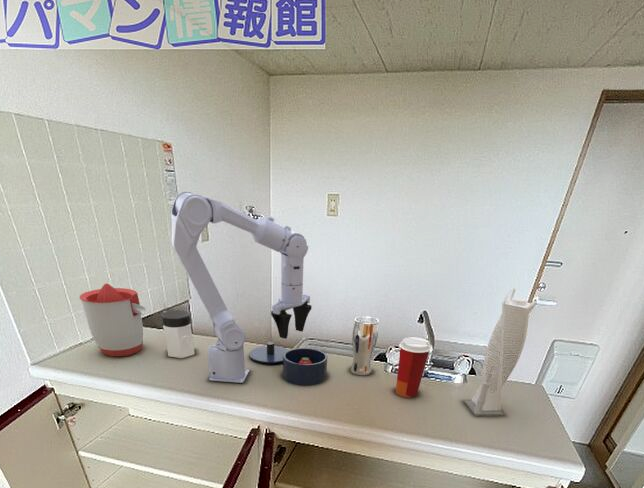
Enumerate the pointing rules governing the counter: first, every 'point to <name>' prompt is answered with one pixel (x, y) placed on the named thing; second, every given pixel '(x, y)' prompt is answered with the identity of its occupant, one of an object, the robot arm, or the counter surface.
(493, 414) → the skyscraper
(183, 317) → the jar
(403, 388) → the paper cup
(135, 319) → the citrus juicer
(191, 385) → the counter surface
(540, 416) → the counter surface
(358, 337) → the beer glass
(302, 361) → the strawberry
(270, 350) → the lid
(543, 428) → the counter surface
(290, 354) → the pot
